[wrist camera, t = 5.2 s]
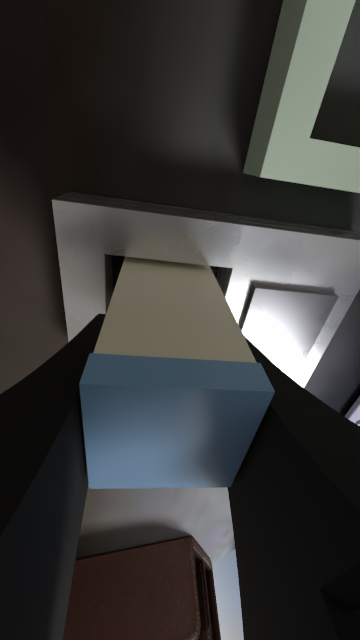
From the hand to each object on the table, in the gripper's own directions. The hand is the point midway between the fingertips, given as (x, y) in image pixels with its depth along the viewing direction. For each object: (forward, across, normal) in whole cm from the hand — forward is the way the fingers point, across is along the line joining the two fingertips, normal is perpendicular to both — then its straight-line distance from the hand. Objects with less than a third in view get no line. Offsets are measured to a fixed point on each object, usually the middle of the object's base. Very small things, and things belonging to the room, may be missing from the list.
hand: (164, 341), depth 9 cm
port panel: (+4, -2, 0) cm, 4 cm away
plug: (+3, 0, 0) cm, 3 cm away
